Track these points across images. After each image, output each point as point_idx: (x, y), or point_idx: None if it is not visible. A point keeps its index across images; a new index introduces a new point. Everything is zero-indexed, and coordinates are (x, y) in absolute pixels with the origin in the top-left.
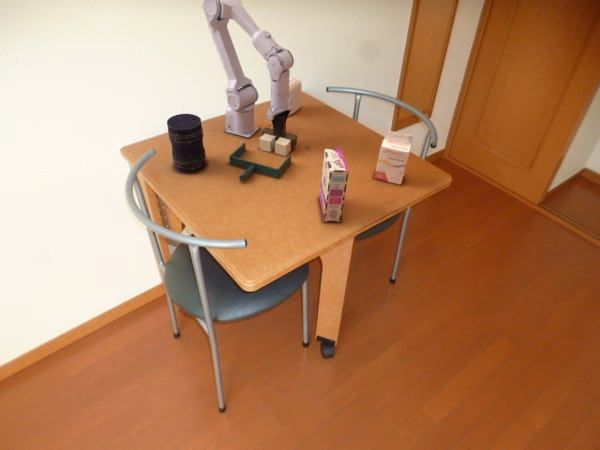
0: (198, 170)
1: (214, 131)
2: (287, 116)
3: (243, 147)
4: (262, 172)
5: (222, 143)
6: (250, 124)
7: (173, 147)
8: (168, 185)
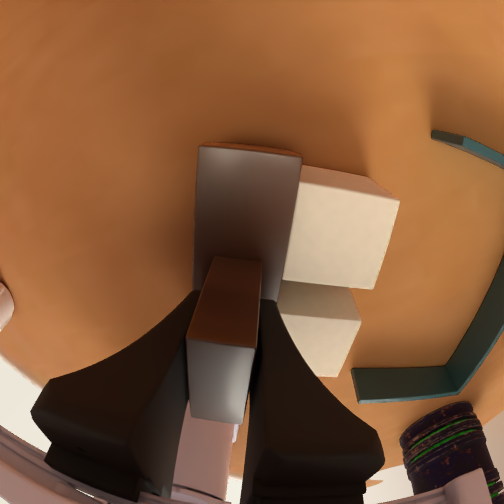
0: (470, 405)
1: (244, 452)
2: (131, 366)
3: (375, 388)
4: None
5: None
6: (202, 428)
7: None
8: (497, 408)
